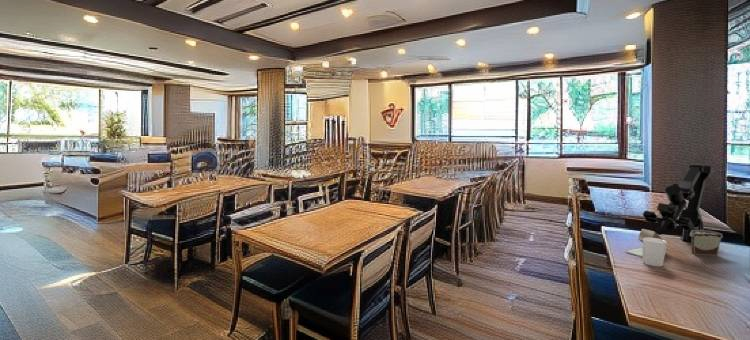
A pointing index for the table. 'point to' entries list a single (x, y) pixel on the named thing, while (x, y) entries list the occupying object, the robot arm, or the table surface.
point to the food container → (705, 242)
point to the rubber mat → (636, 252)
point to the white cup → (654, 251)
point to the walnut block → (647, 235)
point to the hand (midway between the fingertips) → (658, 234)
